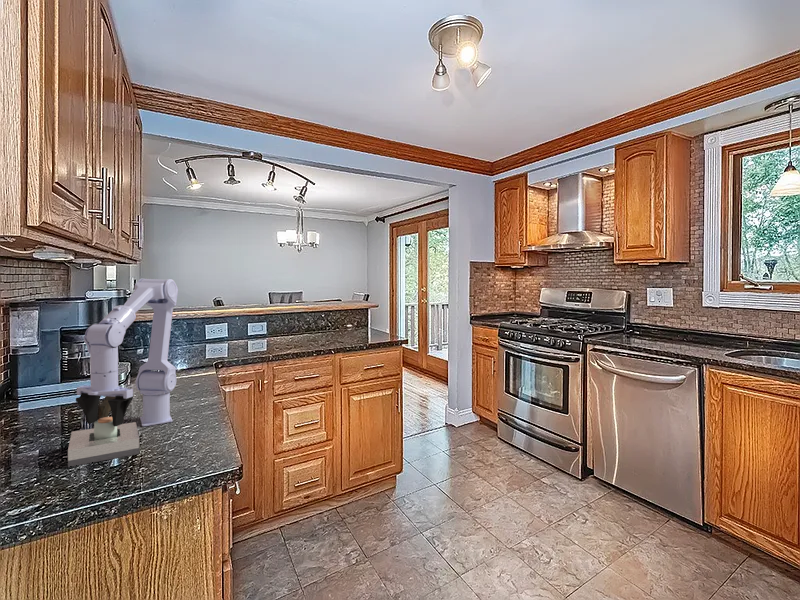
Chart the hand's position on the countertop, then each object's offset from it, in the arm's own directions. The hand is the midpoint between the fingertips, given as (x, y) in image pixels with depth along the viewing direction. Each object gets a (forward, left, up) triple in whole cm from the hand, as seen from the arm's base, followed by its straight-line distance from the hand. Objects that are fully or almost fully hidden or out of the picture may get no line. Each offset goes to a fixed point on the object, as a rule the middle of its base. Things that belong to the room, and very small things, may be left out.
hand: (105, 423), depth 105 cm
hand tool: (-36, +1, -7) cm, 37 cm away
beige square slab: (0, 0, -7) cm, 7 cm away
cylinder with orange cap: (0, 0, -5) cm, 5 cm away
